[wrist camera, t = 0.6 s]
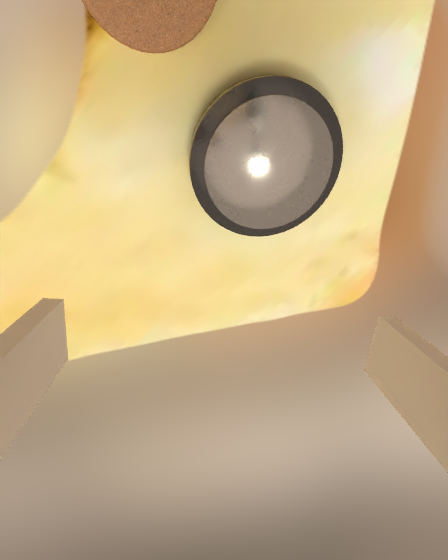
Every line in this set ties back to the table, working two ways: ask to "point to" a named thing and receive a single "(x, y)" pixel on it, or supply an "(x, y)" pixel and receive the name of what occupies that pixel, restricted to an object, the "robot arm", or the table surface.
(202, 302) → the table surface
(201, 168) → the base
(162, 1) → the lidded jar
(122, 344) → the table surface
